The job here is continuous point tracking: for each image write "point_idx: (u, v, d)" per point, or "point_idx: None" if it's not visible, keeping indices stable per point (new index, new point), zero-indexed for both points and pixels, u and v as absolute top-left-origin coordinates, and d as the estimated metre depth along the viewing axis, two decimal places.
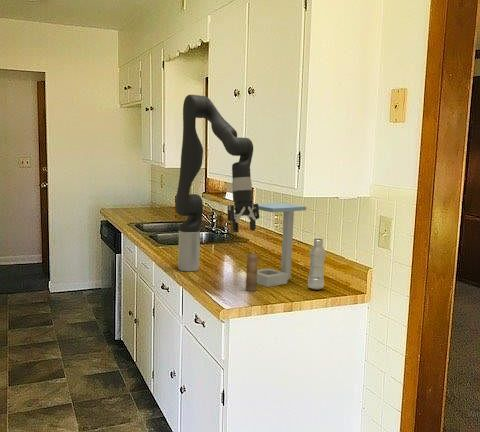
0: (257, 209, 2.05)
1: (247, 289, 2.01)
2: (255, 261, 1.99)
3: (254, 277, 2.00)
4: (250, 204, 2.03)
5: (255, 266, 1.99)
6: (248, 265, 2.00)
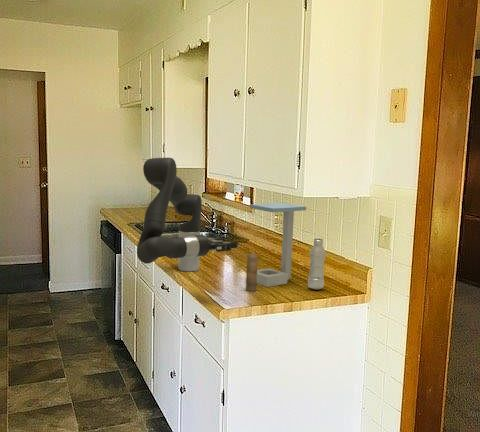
0: None
1: (247, 289, 2.01)
2: (255, 261, 1.99)
3: (254, 277, 2.00)
4: None
5: (255, 266, 1.99)
6: (248, 265, 2.00)
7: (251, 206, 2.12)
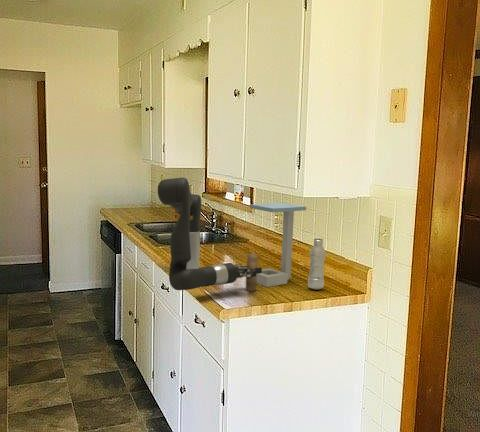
0: None
1: (247, 289, 2.01)
2: (255, 261, 1.99)
3: (254, 277, 2.00)
4: None
5: (255, 266, 1.99)
6: (248, 264, 2.00)
7: (251, 206, 2.12)
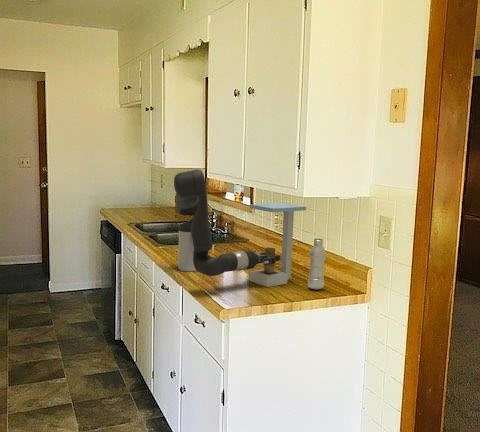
0: None
1: None
2: (273, 255, 2.12)
3: (271, 270, 2.13)
4: None
5: None
6: None
7: (251, 206, 2.12)
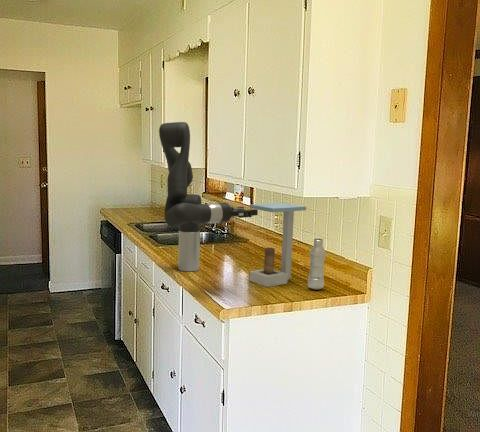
0: None
1: None
2: (272, 255, 2.12)
3: (271, 270, 2.13)
4: (233, 216, 1.96)
5: (272, 260, 2.12)
6: (266, 258, 2.12)
7: (251, 206, 2.12)
